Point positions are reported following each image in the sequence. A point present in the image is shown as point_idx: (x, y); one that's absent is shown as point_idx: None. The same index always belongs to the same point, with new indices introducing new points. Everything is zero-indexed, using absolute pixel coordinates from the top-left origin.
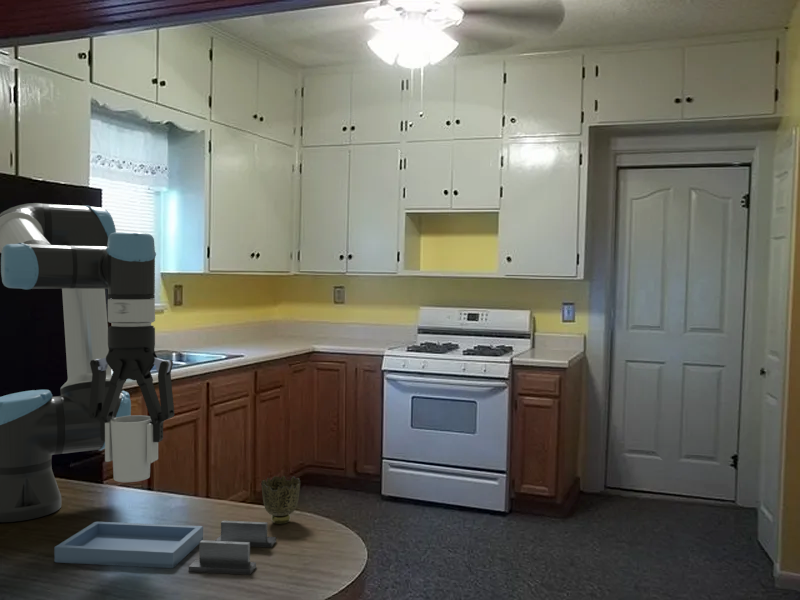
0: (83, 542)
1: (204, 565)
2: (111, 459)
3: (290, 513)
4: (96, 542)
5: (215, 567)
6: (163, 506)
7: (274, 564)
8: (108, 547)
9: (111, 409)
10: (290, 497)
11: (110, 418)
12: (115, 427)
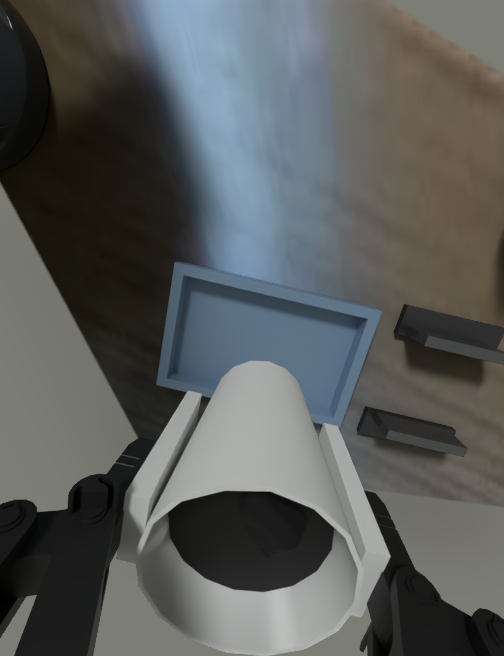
0: (180, 320)
1: (381, 432)
2: (194, 427)
3: None
4: (200, 315)
5: (396, 441)
6: (270, 62)
7: (479, 419)
8: None
9: (96, 625)
10: None
11: (115, 529)
12: (191, 599)
